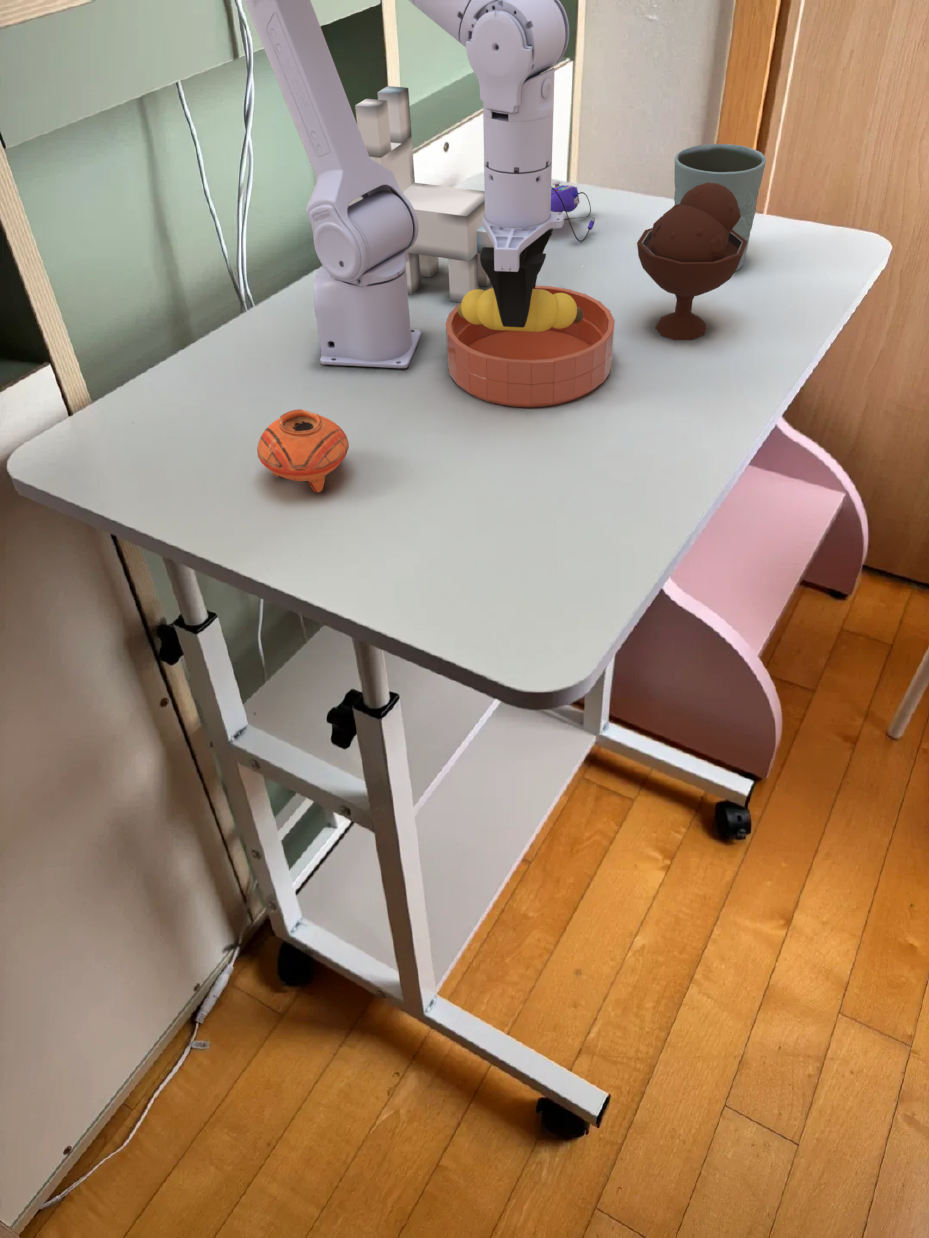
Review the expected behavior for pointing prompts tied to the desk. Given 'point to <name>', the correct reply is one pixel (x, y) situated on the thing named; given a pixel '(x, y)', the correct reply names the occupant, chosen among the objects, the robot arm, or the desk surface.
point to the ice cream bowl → (692, 253)
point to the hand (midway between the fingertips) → (517, 315)
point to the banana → (540, 318)
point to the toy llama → (426, 199)
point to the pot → (303, 447)
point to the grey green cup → (723, 177)
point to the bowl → (532, 357)
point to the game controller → (567, 201)
